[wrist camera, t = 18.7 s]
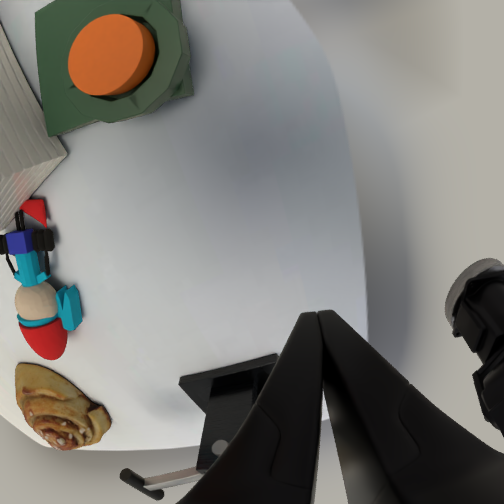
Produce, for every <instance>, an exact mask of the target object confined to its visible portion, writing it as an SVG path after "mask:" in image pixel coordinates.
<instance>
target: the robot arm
mask: <svg viewBox="0 0 504 504" xmlns="http://www.w3.org/2000/svg"><path fill="white" fill-rule="evenodd" d="M452 334H453V335H454V337H461V336H463V338H464V340H465V341H466V343H467V344H468V346H469V348H470V349H471V351H472V352H473V353H477V355H478V356H479V358H480V360H481V361H482V363H483V365H482V366H481V368H480V369H479V370H478V371H475V372H474V373H473V374H472V376H473V379H474V385H475V388H476V391H477V395H478V399H479V402H480V406H481V409H482V413H483V415H484V419H485V420H486V421H487V422H490V423H491V424H492V425H493V426H494V427H495V428H496V429H498V430H500V431H501V433H502V435H503V437H504V272H499V273H494V274H489V275H484V276H479V277H473V278H469V279H468V280H467V281H466V283H465V286H464V291H463V295H462V299H461V303H460V307H459V311H458V314H457V318H456V322H455V325H454V329H453V333H452ZM323 391H324V396H325V400H326V404H327V409H328V413H329V417H330V421H331V426H332V429H333V434H334V438H335V443H336V447H337V452H338V457H339V461H340V466H341V470H342V475H343V480H344V484H345V489H346V494H347V499H348V504H504V454H503V453H501V452H498V451H496V450H494V449H493V448H491V447H490V446H488V445H486V444H485V443H484V442H482V441H481V440H480V439H478V438H477V437H476V436H474V435H473V434H472V433H470V432H469V431H467V430H466V429H465V428H463V427H462V426H461V425H459V424H458V423H456V422H455V421H454V420H453V419H451V418H450V417H449V416H447V415H446V414H445V413H444V412H442V411H441V410H440V409H439V408H437V407H436V406H435V405H434V404H432V403H431V402H430V401H429V400H428V399H427V398H426V397H425V396H424V395H423V394H421V393H420V392H419V391H418V390H417V389H416V388H415V387H414V386H413V385H412V384H409V381H408V380H407V379H405V378H404V377H403V376H402V375H401V374H400V373H399V372H398V371H397V370H396V369H395V368H394V367H393V366H392V365H391V364H390V363H389V362H388V361H387V360H385V358H383V357H382V356H381V355H380V354H379V353H378V352H377V351H376V350H375V349H374V348H373V347H372V346H371V345H370V344H369V343H368V342H367V341H366V340H364V339H363V338H362V337H361V336H360V335H359V334H358V333H357V332H356V331H355V330H354V329H353V328H352V327H351V326H350V325H349V324H347V323H346V322H345V321H344V320H343V319H342V318H341V317H340V316H339V315H338V314H337V313H336V312H335V311H333V310H322V311H318V312H317V313H316V312H304V313H301V314H300V316H299V318H298V320H297V322H296V324H295V326H294V328H293V330H292V332H291V334H290V336H289V338H288V340H287V342H286V344H285V346H284V348H283V350H282V352H281V354H280V356H279V358H278V360H277V362H276V364H275V366H274V368H273V370H272V372H271V374H270V376H269V377H268V379H267V381H266V383H265V385H264V387H263V389H262V391H261V393H260V394H259V396H258V398H257V400H256V402H255V404H254V405H253V407H252V409H251V411H250V412H249V414H248V416H247V418H246V419H245V421H244V423H243V424H242V426H241V427H240V429H239V431H238V432H237V434H236V435H235V436H234V438H233V439H232V440H231V442H230V443H229V445H228V446H227V447H226V449H225V450H224V451H223V452H222V454H221V455H220V456H219V457H218V458H217V460H216V461H215V462H214V463H213V464H212V466H211V467H210V468H209V469H208V470H207V472H206V473H205V474H204V475H203V476H202V477H201V479H200V480H199V481H198V482H197V483H196V485H195V486H194V487H193V488H192V489H191V490H190V491H189V492H188V493H187V494H186V495H185V496H184V497H183V498H182V499H181V500H180V501H179V502H177V503H176V504H314V499H315V490H316V481H317V470H318V460H319V448H320V447H319V446H320V434H321V419H322V400H323Z"/></svg>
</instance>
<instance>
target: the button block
mask: <svg viewBox="0 0 504 504" xmlns="http://www.w3.org/2000/svg"><path fill="white" fill-rule="evenodd" d="M109 14H120V15H124V16H127V17H129V18H131V19H133V20H135V21H137V22H139V23H141V24H142V25H144V26H145V27H146V28H147V29H148V30H149V31H150V33H151V34H152V36H153V39H154V42H155V57H154V61H153V64H152V67H151V69H150V71H149V72H148V74H147V75H146V77H145V78H144V79H143V80H142V82H141V83H139V84H138V85H137V86H136V87H134V88H133V89H131V90H130V91H128V92H125V93H123V94H119V95H89V94H86V93H84V92H82V91H81V90H79V89H78V88H77V87H76V86H75V84H74V83H73V82H72V79H71V77H70V74H69V70H68V58H69V53H70V49H71V47H72V44H73V42H74V40H75V39H76V37H77V36H78V34H79V33H80V32H81V30H82V29H83V28H84V27H85V26H87V25H88V24H89V23H90V22H92V21H93V20H95V19H97V18H99V17H102V16H105V15H109ZM35 35H36V52H37V65H38V75H39V83H40V91H41V98H42V105H43V111H44V117H45V123H46V128H47V134H48V137H53V136H57V135H60V134H65V133H68V132H70V131H73V130H75V129H78V128H81V127H84V126H86V125H89V124H92V123H95V122H98V121H103V122H106V123H114V122H120V121H125V120H129V119H132V118H136V117H139V116H143V115H147V114H150V113H152V112H154V111H155V110H157V109H158V108H159V107H160V106H161V105H162V104H163V103H164V102H166V101H170V100H174V99H178V98H183V97H187V96H192V95H194V90H193V84H192V78H191V72H190V66H189V61H190V58H191V55H190V48H189V42H188V35H187V29H186V27H185V25H184V24H183V20H182V13H181V6H180V0H55V1H53V2H51V3H50V4H48V5H46V6H45V7H43V8H42V9H40V10H38V11H37V12H35Z"/></svg>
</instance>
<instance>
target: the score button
mask: <svg viewBox="0 0 504 504" xmlns="http://www.w3.org/2000/svg"><path fill="white" fill-rule="evenodd" d="M154 57H155V42H154V39H153V36H152V34H151V33H150V31H149V30H148V29H147V28H146V27H145V26H144V25H142V24H141V23H139V22H137V21H135V20H133V19H131V18H129V17H127V16H124V15H120V14H109V15H105V16H102V17H99V18H97V19H95V20H93V21H92V22H90V23H89V24H88V25H87V26H85V27H84V28H83V29H82V30H81V32H80V33H79V34H78V36H77V37H76V39H75V40H74V42H73V44H72V47H71V49H70V53H69V58H68V70H69V74H70V77H71V79H72V82H73V83H74V84H75V86H76V87H77V88H78V89H79V90H81V91H82V92H84V93H86V94H89V95H119V94H123V93H125V92H128V91H130V90H131V89H133V88H134V87H136V86H137V85H138V84H139V83H141V82H142V80H143V79H144V78H145V77H146V75H147V74H148V72H149V71H150V69H151V67H152V64H153V61H154Z"/></svg>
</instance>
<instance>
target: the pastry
mask: <svg viewBox="0 0 504 504" xmlns="http://www.w3.org/2000/svg"><path fill="white" fill-rule="evenodd" d="M15 388H16V400H17V404H18V406H19V408H20V409H21V410H22V413H23V415H24V417H25V420H26V422H27V423H28V425H29V426H30V427H31V428H33V430H34V431H35V432H36V433H37V434H38V435H40V436H41V437H42V438H43V439H45V440H46V441H47V442H48V444H50V445H51V446H52V447H53V448H55V449H57V450H71V449H77V448H80V447H82V446H87V445H92V444H95V443H98V442H99V441H100V440H101V438H102V436H103V434H104V433H106V432H107V431H108V429H109V428H110V427H111V420H110V418H109V415H108V413H107V412H106V409H105V408H104V407H103V406H98V405H96V404H94V403H93V402H91V401H90V400H89V399H88V398H87V397H86V396H85V395H84V394H83V393H82V392H81V391H80V390H78V389H77V388H76V387H75V386H74V385H72V384H71V383H70V382H69V381H68V380H66V379H65V378H63V377H62V376H60V375H58V374H57V373H55V372H53V371H51V370H49V369H47V368H44V367H41V366H38V365H33V364H24V363H21V364H18V365H17V366H16V369H15Z"/></svg>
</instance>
